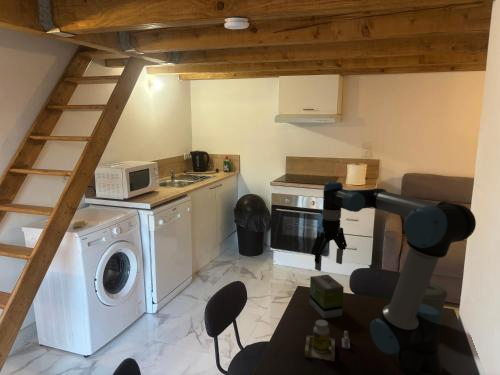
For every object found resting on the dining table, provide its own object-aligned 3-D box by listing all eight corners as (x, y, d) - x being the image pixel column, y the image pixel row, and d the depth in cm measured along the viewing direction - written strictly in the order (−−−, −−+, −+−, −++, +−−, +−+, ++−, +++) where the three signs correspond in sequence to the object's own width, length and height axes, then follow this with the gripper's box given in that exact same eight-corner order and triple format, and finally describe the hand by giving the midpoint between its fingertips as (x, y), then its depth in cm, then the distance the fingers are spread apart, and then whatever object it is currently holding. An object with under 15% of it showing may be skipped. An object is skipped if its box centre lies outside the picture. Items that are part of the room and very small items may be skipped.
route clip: (349, 340, 153) (349, 331, 153) (349, 349, 147) (350, 339, 146) (341, 339, 154) (342, 330, 153) (342, 347, 148) (342, 338, 147)
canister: (402, 332, 160) (407, 285, 157) (396, 312, 178) (400, 269, 174) (448, 338, 156) (454, 290, 153) (438, 317, 173) (442, 274, 170)
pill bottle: (310, 351, 144) (311, 324, 142) (314, 343, 150) (315, 317, 148) (326, 355, 142) (328, 328, 140) (330, 346, 147) (331, 320, 145)
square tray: (306, 340, 152) (306, 335, 152) (334, 344, 150) (334, 338, 149) (304, 356, 141) (304, 350, 141) (334, 361, 139) (334, 354, 139)
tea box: (308, 304, 184) (309, 275, 182) (326, 301, 187) (328, 273, 184) (323, 319, 170) (325, 288, 167) (342, 316, 173) (344, 286, 170)
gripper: (343, 213, 168) (340, 258, 171) (304, 220, 153) (301, 270, 156) (357, 216, 162) (354, 263, 165) (317, 224, 147) (315, 276, 150)
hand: (328, 266), depth 161 cm, fingers open, 13 cm apart
